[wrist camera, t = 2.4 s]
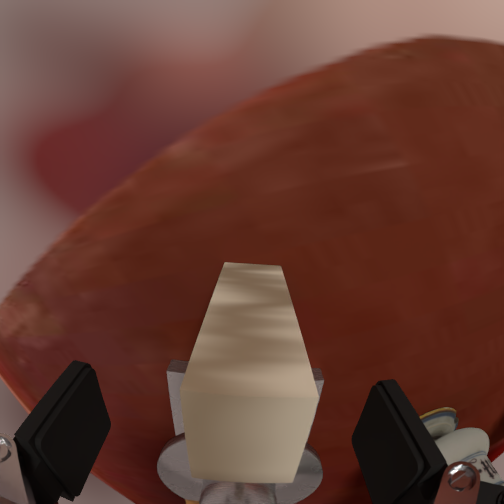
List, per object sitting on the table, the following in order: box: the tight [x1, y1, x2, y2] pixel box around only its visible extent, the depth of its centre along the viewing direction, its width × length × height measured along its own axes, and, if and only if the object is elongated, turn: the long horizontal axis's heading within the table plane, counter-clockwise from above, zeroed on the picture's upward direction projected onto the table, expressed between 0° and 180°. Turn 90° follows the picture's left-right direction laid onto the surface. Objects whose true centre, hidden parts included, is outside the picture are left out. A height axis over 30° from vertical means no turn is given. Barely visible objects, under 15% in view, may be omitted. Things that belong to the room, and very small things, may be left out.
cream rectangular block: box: [180, 262, 319, 483], centre depth 13 cm, size 4×4×12 cm
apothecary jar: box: [420, 407, 504, 486], centre depth 14 cm, size 12×12×18 cm
